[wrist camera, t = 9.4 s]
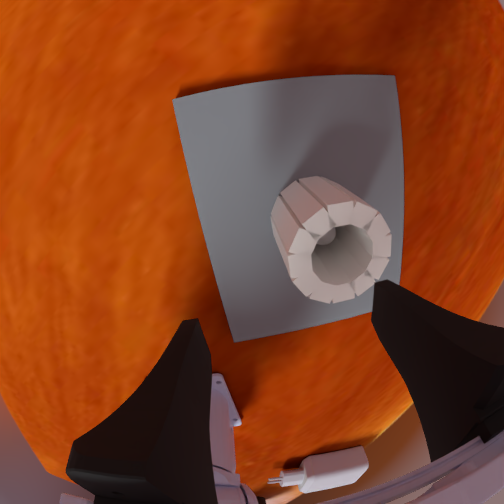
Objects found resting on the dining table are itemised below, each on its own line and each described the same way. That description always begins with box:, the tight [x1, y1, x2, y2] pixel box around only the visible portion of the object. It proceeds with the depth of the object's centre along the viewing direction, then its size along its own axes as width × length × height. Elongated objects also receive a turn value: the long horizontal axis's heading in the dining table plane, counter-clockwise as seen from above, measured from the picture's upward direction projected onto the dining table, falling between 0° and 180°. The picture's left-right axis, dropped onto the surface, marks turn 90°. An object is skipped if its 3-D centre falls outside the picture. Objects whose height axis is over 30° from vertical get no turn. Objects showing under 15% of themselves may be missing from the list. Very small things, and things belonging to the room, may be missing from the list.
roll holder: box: [172, 75, 404, 342], centre depth 18 cm, size 18×14×3 cm
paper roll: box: [271, 176, 392, 304], centre depth 16 cm, size 5×5×6 cm
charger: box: [268, 446, 369, 493], centre depth 36 cm, size 5×9×15 cm
